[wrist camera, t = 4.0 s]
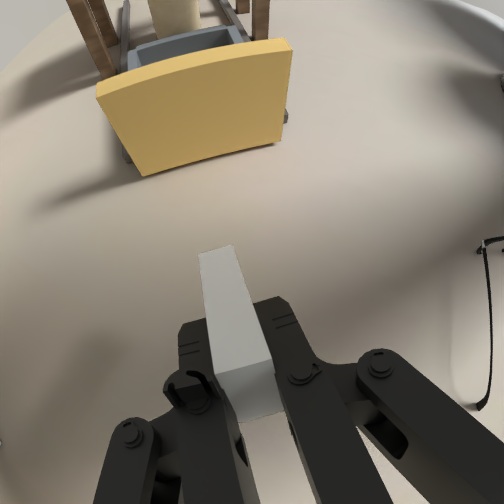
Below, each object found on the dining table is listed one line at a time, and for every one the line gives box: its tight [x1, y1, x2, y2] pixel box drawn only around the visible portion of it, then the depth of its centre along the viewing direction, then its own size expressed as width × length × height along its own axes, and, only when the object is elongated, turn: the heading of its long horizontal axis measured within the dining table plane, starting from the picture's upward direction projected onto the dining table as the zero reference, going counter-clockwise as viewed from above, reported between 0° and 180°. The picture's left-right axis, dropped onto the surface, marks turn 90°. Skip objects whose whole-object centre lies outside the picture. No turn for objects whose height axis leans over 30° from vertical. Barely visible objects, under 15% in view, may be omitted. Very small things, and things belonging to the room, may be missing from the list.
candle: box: [148, 0, 202, 40], centre depth 26 cm, size 6×6×10 cm
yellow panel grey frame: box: [96, 25, 293, 177], centre depth 22 cm, size 12×16×10 cm
